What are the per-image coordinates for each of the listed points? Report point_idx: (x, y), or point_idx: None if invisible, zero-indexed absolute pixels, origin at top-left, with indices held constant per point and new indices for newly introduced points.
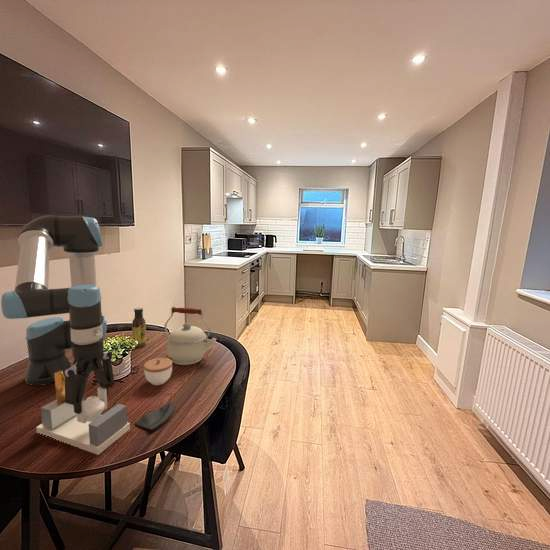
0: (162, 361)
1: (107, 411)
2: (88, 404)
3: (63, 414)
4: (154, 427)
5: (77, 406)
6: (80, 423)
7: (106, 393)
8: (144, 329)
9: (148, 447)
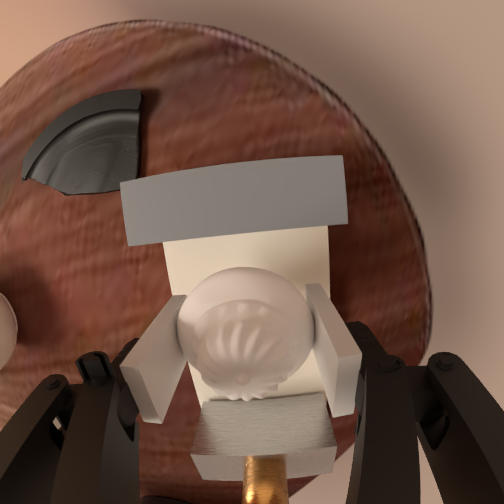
0: None
1: (210, 235)
2: (287, 345)
3: (283, 419)
4: (129, 90)
5: (382, 351)
6: None
7: (138, 342)
8: None
9: (207, 46)
